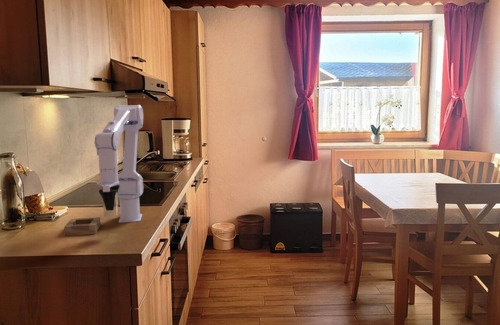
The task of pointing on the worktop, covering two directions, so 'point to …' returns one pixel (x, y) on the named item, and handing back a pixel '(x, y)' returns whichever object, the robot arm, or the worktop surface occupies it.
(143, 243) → the worktop surface
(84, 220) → the walnut holder
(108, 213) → the birch post
